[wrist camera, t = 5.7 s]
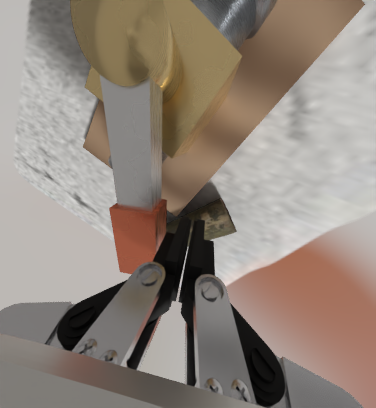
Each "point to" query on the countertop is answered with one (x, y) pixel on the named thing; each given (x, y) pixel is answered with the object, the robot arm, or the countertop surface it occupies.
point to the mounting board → (245, 91)
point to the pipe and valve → (201, 63)
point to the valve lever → (132, 111)
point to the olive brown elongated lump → (209, 221)
